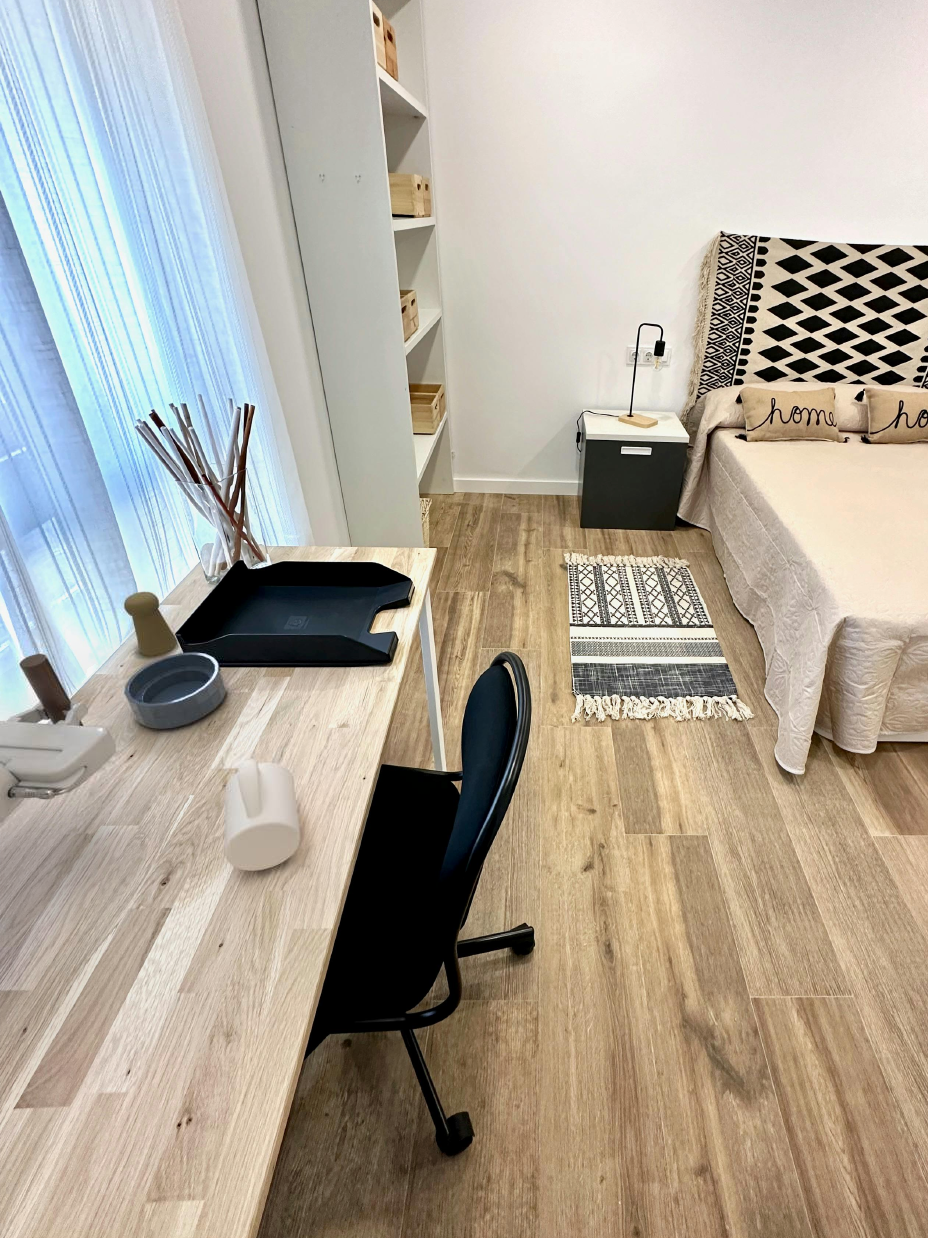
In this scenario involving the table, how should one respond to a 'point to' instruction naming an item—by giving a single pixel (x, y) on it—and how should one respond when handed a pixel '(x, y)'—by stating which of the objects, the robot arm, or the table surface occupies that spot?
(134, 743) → the table surface
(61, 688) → the brown cylindrical rod
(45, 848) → the table surface
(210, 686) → the bowl
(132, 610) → the pepper mill
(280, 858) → the mug
